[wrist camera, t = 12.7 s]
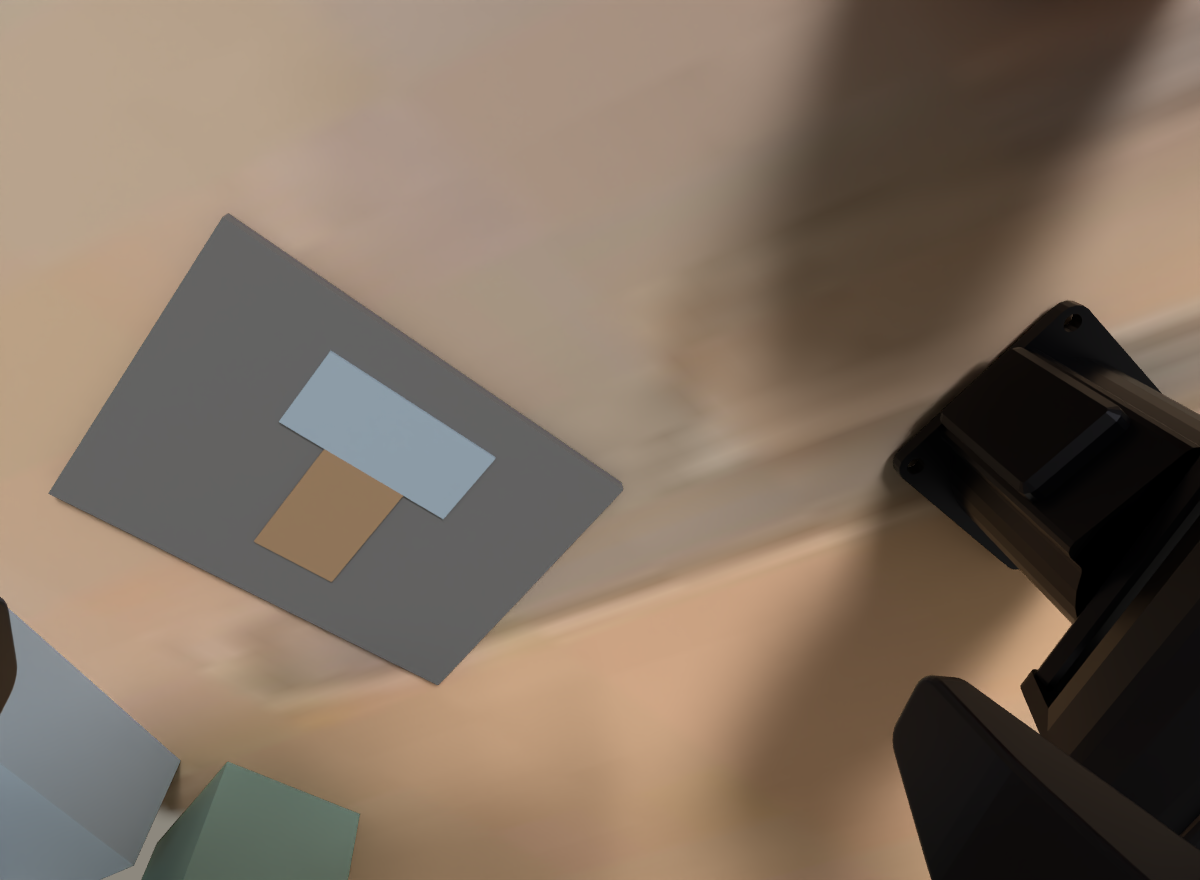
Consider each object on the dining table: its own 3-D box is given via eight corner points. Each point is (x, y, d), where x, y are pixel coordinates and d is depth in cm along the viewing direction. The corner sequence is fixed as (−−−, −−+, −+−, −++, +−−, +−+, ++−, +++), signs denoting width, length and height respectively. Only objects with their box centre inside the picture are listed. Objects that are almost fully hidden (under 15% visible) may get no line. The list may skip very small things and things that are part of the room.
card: (621, 482, 22) (624, 491, 22) (438, 676, 25) (437, 688, 24) (228, 213, 18) (221, 217, 17) (56, 485, 20) (46, 495, 20)
